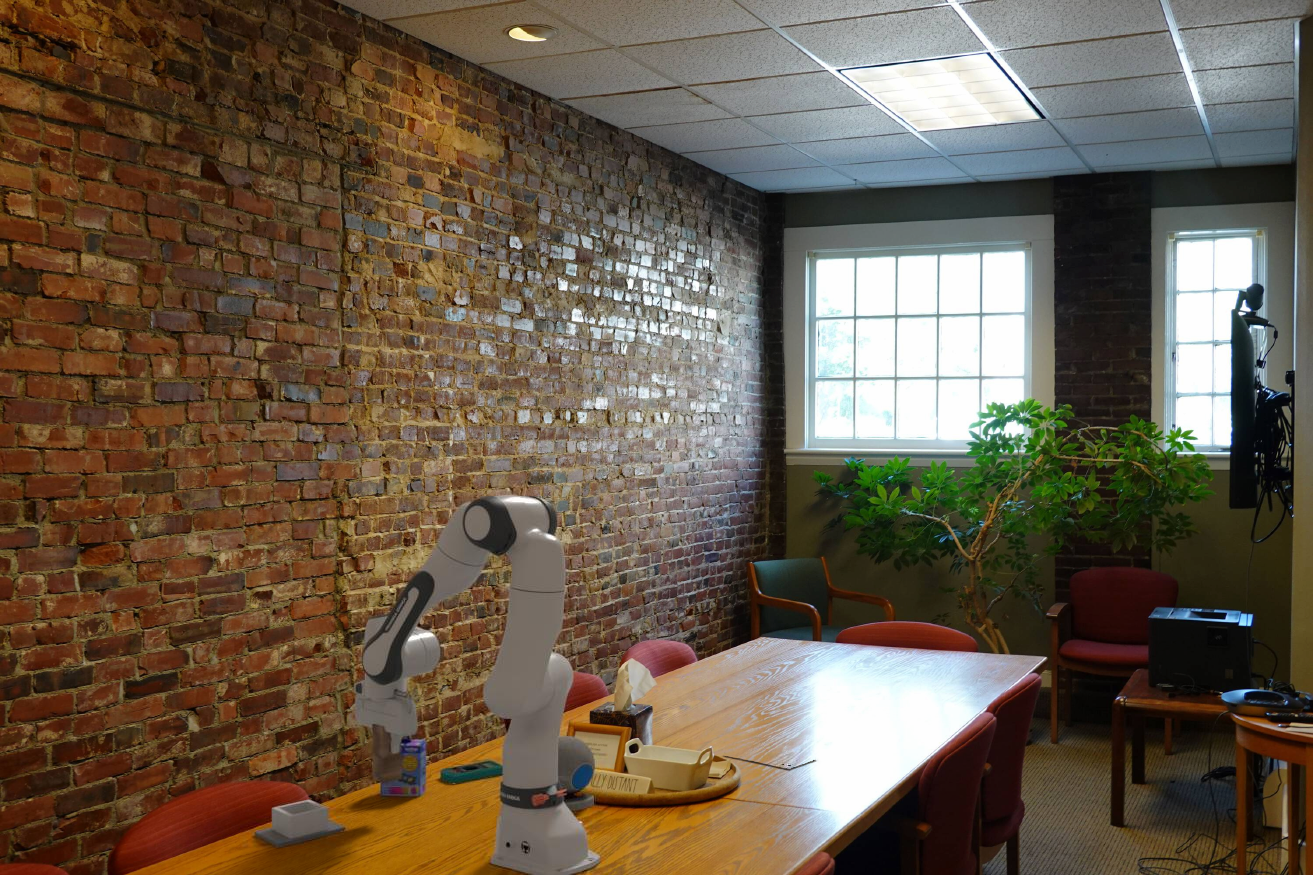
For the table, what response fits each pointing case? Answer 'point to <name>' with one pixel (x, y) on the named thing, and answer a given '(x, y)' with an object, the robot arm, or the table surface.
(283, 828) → the dock
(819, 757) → the table surface
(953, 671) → the table surface
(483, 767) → the digital multimeter
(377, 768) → the peg
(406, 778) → the ink cartridge box
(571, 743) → the webcam
